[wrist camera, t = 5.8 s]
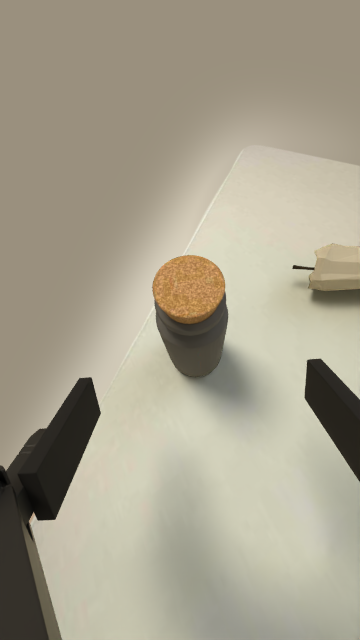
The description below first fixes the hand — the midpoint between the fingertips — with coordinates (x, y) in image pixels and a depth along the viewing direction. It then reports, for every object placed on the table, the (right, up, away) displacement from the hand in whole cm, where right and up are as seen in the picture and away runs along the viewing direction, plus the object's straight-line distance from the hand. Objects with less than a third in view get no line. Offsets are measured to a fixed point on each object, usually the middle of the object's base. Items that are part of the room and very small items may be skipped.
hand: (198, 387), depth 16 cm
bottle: (+1, 0, +15) cm, 15 cm away
